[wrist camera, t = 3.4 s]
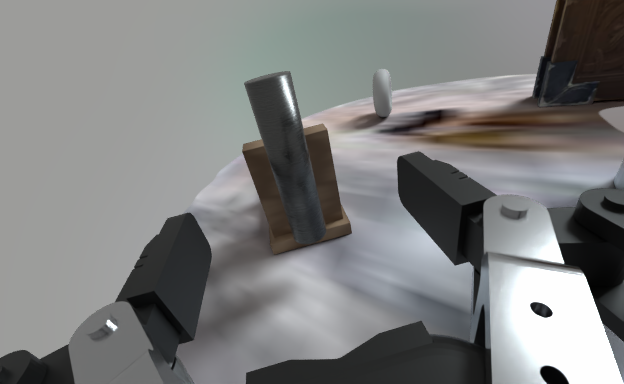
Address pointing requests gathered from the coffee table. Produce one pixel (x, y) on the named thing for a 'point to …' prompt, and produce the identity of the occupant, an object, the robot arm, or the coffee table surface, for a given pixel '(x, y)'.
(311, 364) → the robot arm
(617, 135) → the coffee table surface
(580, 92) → the decorative book
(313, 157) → the shaft stand
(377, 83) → the donut
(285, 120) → the grey piece
